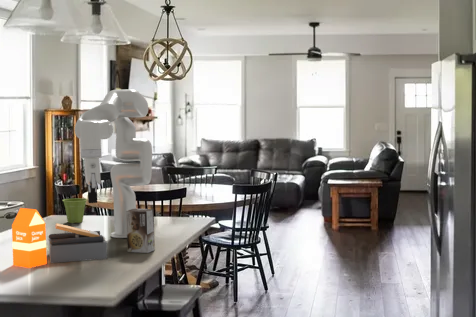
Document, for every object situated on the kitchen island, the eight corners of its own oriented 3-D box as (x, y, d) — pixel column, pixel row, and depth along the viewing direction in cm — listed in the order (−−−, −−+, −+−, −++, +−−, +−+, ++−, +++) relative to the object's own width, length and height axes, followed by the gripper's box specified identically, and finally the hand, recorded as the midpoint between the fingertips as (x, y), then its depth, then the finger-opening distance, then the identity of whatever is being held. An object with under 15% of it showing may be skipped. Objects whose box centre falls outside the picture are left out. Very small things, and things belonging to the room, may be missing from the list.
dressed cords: (99, 235, 255) (99, 230, 255) (103, 242, 242) (103, 236, 242) (48, 239, 249) (48, 233, 249) (49, 245, 236) (49, 240, 236)
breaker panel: (102, 250, 257) (102, 228, 256) (107, 258, 242) (107, 235, 241) (49, 254, 251) (48, 231, 250) (50, 262, 235) (49, 239, 235)
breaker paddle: (97, 235, 251) (98, 232, 251) (98, 238, 245) (99, 235, 245) (55, 226, 246) (56, 222, 246) (55, 228, 240) (56, 225, 240)
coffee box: (155, 250, 256) (154, 208, 255) (147, 253, 250) (146, 211, 249) (134, 248, 259) (133, 208, 258) (126, 252, 253) (125, 210, 252)
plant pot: (84, 224, 320) (83, 201, 320) (60, 224, 321) (59, 201, 320) (90, 220, 332) (89, 198, 332) (66, 220, 332) (66, 198, 332)
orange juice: (29, 268, 228) (27, 210, 226) (12, 265, 232) (10, 209, 231) (47, 263, 234) (45, 208, 233) (30, 261, 239) (28, 206, 238)
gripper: (103, 155, 240) (105, 204, 241) (99, 152, 254) (100, 199, 255) (82, 155, 237) (84, 206, 239) (79, 153, 251) (81, 200, 253)
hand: (92, 202), depth 247 cm, fingers closed
